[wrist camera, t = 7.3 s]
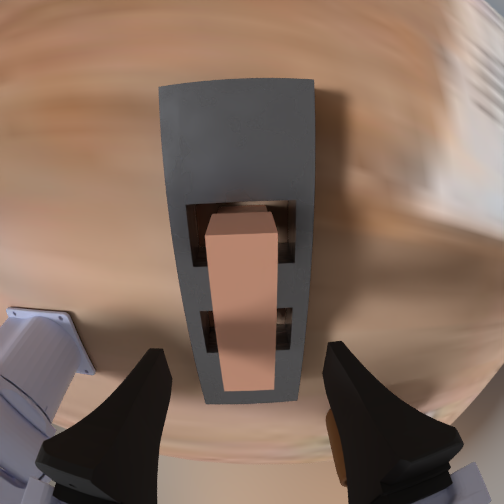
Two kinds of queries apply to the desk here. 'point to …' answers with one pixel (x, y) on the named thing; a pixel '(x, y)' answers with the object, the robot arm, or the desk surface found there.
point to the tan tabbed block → (244, 294)
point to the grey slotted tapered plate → (240, 190)
